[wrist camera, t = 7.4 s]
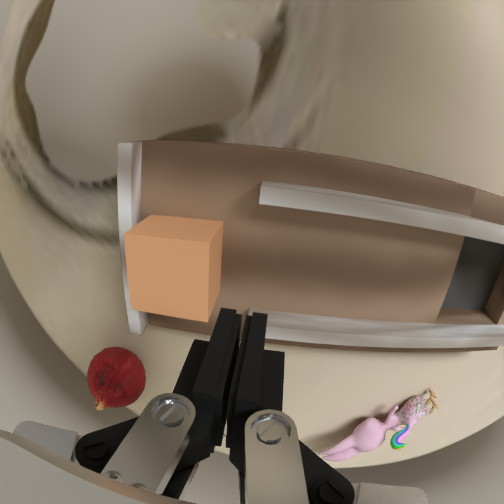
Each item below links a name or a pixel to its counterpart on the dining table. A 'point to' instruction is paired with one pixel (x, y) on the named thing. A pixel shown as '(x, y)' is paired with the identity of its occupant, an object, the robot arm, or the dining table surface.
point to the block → (174, 266)
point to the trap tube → (328, 245)
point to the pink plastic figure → (381, 430)
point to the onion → (115, 378)
